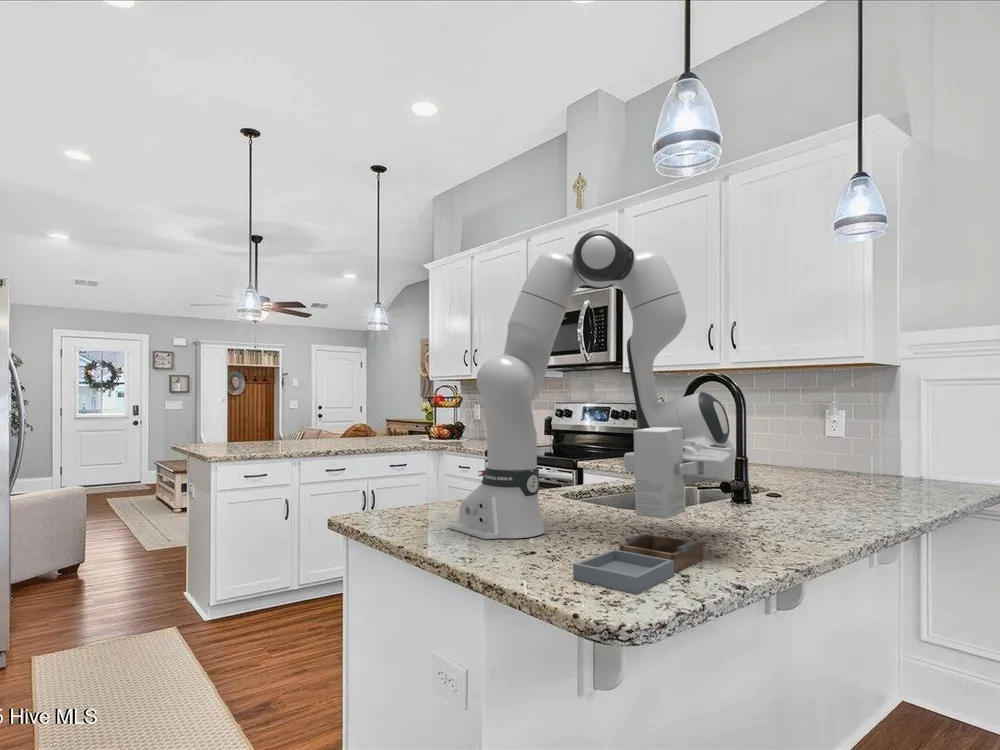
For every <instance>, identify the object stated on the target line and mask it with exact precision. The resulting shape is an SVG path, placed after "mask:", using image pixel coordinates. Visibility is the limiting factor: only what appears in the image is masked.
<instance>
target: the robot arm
mask: <svg viewBox="0 0 1000 750" xmlns="http://www.w3.org/2000/svg"><path fill="white" fill-rule="evenodd" d="M612 286H616V287H617V288H619V290H621V292H622V294H623V295H624V297H625V299H626V303H627V304H628V305H627V306H628V309H629V312H630V314H631V318H632V319H631V321H632V331H631V336H630V337H629V338H628V339H627V342H626V351H627V352H626V353H627V354H626V355H627V361H628V368H629V373H630V374H629V375H630V381H631V385H632V392H633V397H634V404H635V410H636V412H635V413H636V428H637V429H636V430H639V429H645V428H652V427H676V428H683V464H679V463H678V464H675V466H674V468H675V470H674V472H675V474H681V475H684V485H687V486H688V485H696V484H703V483H707V482H711V483H713V482H715V483H716V482H718V483H726V482H727V483H730V482H733V481H734V472H735V471H734V470H735V463H736V457H737V452H736V448H735V445H734V444H733V442H731V440H730V439H729V435H730V423H729V419H728V414H727V412H726V409H725V408H724V407H725V406H724V405H723V404H722V403H721V401H719V400H718V399H717V398H715V397H714V396H713V395H711V394H709V393H708V392H704V391H701V392H697V393H693V394H690V395H686V396H682V397H680V398H677V399H676V398H675V399H674V400H669V401H665V402H660V401H659V397H658V391H657V385H656V380H655V374H654V362H655V360H656V357H657V356H658V355H659V354H660V352H661V351H663V349H664V348H666V347H667V346H668V345H669V344H670V343H672V342H673V341H674V340H675V339H676V338H677V337H678V336H679V334H680V333H681V332H682V330H683V328H684V326H685V325H686V320H687V310H686V306H685V302H684V299H683V296H682V293H681V291H680V289H679V285H678V283H677V281H676V278H675V276H674V274H673V272H672V270H671V269H670V267H669V265H668V263H667V261H666V260H665V258H664V257H663V256H662V255H661V254H660V253H659V252H657V251H651V250H646V251H641V252H637V253H635V252H634V250H633V248H631V246H629V245H627V243H625V242H624V241H623V240H622V239H621V238H620V237H618V236H617V235H616V234H614V233H613V232H610V231H609V230H605V229H595V230H591V231H589V232H587V233H585V234H583V235H582V236H581V237H580V238H579V239H578V240H577V242H576V244H575V246H574V249H573V251H572V252H571V253H563V252H560V251H556V250H553V251H551V250H550V251H546V252H545V251H544V252H542V254H540V255H539V256H538V258H537V260H536V261H535V262H534V264H533V265H532V267H531V269H530V271H529V273H528V275H527V276H526V279H525V281H524V284H523V285H522V287H521V291H520V292H519V296H518V297H517V299H516V302H515V305H514V307H513V311H512V312H511V315H510V318H509V320H508V323H507V335H506V340H505V344H504V350H503V354H501V355H496V356H494V357H491V358H490V359H488V360H486V361H484V363H483V364H482V365H481V366H480V368H479V369H478V372H477V374H476V387H477V389H478V392H479V394H480V396H481V397H480V398H481V404H482V411H483V415H484V422H485V428H486V439H487V441H486V442H487V443H486V445H487V447H486V448H487V451H486V452H487V467H486V468H485V470H478V471H477V472H478V473H480V474H478V477H482V479H481V484H480V485H478V487H477V488H475V489H474V490H473V491H472V492H471V493H470V494H469V495H468V496H466V497H465V498H463V500H462V501H461V503H460V507H459V513H458V515H459V516H458V519H456V520H454V521H451V522H450V523H448V528H449V530H450V529H451V530H454V531H457V532H460V533H462V534H467V535H471V536H473V537H477V538H480V539H482V540H483V539H484V540H493V539H494V540H495V539H523V538H532V537H536V536H540V535H542V534H544V533H546V530H545V526H544V523H543V519H542V518H543V517H542V515H541V514H542V513H541V509H540V508H541V507H540V502H539V501H540V500H539V487H540V469H539V468H538V460H537V459H538V457H537V456H538V455H537V453H538V449H537V448H538V444H537V441H538V439H537V437H538V435H537V434H538V433H537V430H536V427H535V426H536V425H535V421H534V417H533V410H532V409H533V408H532V402H533V401H534V400H535V399H536V398H537V397H538V396H539V395H540V393H541V391H542V389H543V383H544V379H545V376H546V374H547V370H548V367H549V362H550V358H551V354H552V350H553V347H554V344H555V341H556V338H557V335H558V333H559V330H560V328H561V325H562V322H563V320H564V318H565V315H566V314H567V313H566V312H567V310H568V308H569V305H570V303H571V300H572V298H573V295H574V293H575V292H576V290H577V289H590V290H591V289H592V290H605V289H607V288H610V287H612ZM623 468H624V471H626V472H631V473H632V472H633V473H635V465H634V451H632V452H631V451H630V452H625V453H624V456H623Z"/></svg>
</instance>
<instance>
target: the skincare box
mask: <svg viewBox="0 0 1000 750" xmlns="http://www.w3.org/2000/svg"><path fill="white" fill-rule="evenodd" d="M633 452H634V465H635V472H634V496H635V497H634V501H635V503H634V504H635V515H636V516H641V517H649V518H658V519H659V518H660V519H669V518H672V517H675V516H676V515H678V514H681V513H684V512H686V503H685V502H686V500H685V499H686V498H685V497H686V496H685V484H684V475H681V474H675V472H674V470H675V468H674V466H675V464H678V463H679V464H683V428H676V427H652V428H645V429H639V430H638V429H634V430H633Z"/></svg>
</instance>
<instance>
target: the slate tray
mask: <svg viewBox="0 0 1000 750" xmlns="http://www.w3.org/2000/svg"><path fill="white" fill-rule="evenodd" d="M572 571H573V573H572V578H573V580H574V581H578V582H583V583H588V584H591V585H595V586H596V585H597V586H601V587H605V588H607V589H611V590H612V589H613V590H617V591H622V592H626V593H629V594H634V595H639V594H641V593H643V592H645V591H647V590H649V589H650V588H653V587H654V586H657V585H659V584H661V583H662V582H664V581H666V580H669V579H670V578H673V577H675V573H674V560H669V559H664V558H658V557H653V556H647V555H642V554H636V553H631V552H626V551H620V549H614V548H613V549H610V550H607V551H605V552H602V553H598V554H596V555H595V556H591V557H588V558H586V559H583V560H580V561H577V562H574V563H573V564H572Z"/></svg>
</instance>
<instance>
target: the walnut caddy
mask: <svg viewBox="0 0 1000 750" xmlns="http://www.w3.org/2000/svg"><path fill="white" fill-rule="evenodd" d="M619 550H620V551H626V552H631V553H636V554H642V555H647V556H653V557H658V558H664V559H669V560H674V574H676V573H678V572H681V571H682V570H684V569H687V568H689V567H691V566H692V565H694V564H696V563H699V562H701V561H703V560H704V542H701V541H694V540H689V539H683V538H675V537H670V536H669V537H668V536H663V535H657V534H648V533H639V534H637V535H635V536H631V537H628V538H626V541H625V543H623V544H620V545H619Z"/></svg>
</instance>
